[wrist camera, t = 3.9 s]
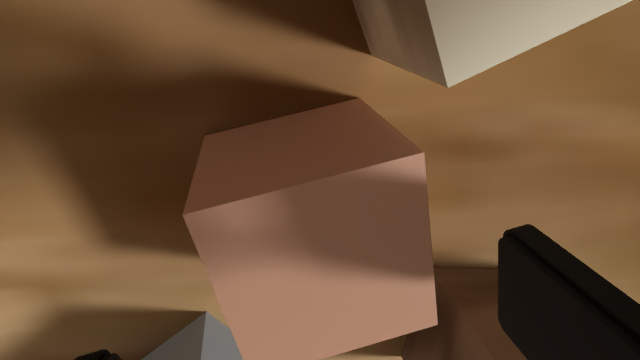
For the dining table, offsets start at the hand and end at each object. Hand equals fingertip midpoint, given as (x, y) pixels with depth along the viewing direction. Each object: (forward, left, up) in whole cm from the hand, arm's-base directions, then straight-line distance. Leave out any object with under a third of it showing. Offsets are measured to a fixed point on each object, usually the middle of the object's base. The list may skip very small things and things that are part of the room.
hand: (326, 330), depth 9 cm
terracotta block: (0, 0, -8) cm, 8 cm away
